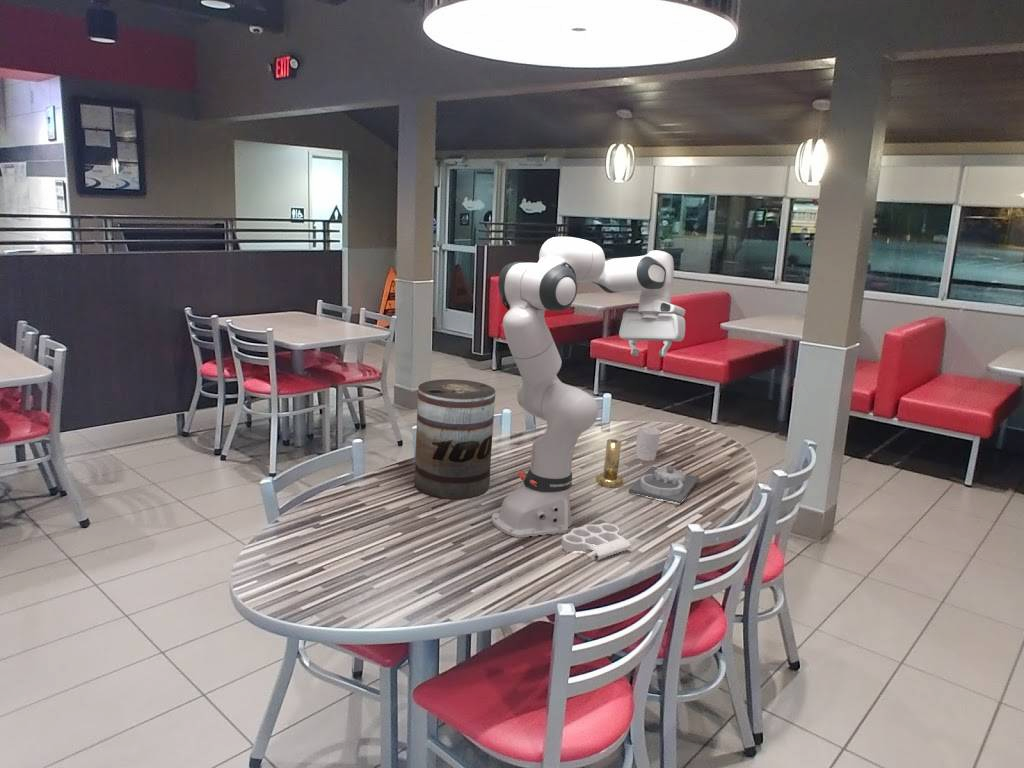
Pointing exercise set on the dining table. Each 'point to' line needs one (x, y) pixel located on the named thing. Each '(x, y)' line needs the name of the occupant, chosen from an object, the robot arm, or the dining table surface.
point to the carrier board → (664, 484)
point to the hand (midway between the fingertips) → (648, 355)
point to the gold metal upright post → (611, 466)
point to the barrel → (454, 438)
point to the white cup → (647, 443)
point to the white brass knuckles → (596, 540)
